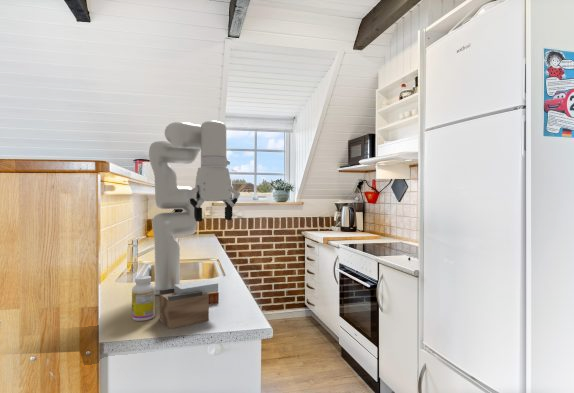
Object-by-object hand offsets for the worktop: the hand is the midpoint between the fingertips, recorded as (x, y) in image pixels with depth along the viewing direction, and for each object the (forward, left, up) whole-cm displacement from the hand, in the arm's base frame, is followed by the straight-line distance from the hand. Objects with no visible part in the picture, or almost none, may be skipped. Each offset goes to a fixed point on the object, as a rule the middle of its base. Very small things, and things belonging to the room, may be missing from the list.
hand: (213, 220), depth 106 cm
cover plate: (-9, -2, -23) cm, 25 cm away
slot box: (-9, -6, -31) cm, 33 cm away
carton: (-27, +8, -32) cm, 42 cm away
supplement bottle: (-18, -16, -31) cm, 39 cm away
